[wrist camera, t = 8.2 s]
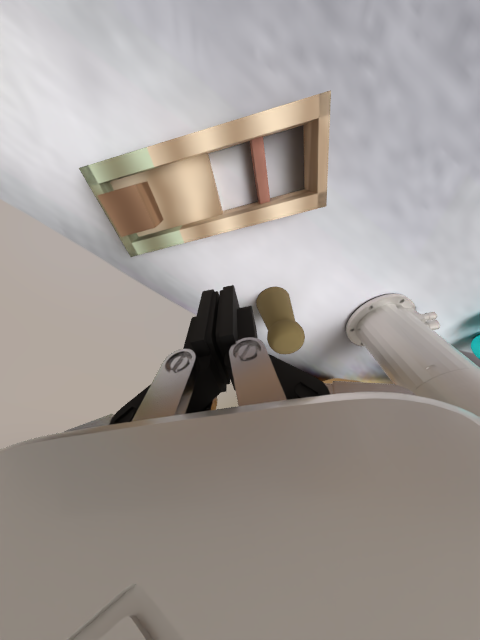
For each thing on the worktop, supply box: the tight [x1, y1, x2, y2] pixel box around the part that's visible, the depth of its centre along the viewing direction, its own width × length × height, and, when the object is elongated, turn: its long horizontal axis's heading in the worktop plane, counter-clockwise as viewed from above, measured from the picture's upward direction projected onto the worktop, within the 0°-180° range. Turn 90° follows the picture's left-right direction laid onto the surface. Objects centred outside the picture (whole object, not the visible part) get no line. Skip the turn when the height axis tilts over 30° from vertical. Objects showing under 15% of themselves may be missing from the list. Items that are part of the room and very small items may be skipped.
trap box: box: [79, 91, 331, 257], centre depth 23 cm, size 24×9×4 cm, turn 103°
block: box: [97, 181, 164, 237], centre depth 22 cm, size 4×4×4 cm
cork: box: [256, 287, 305, 354], centre depth 31 cm, size 6×6×11 cm
